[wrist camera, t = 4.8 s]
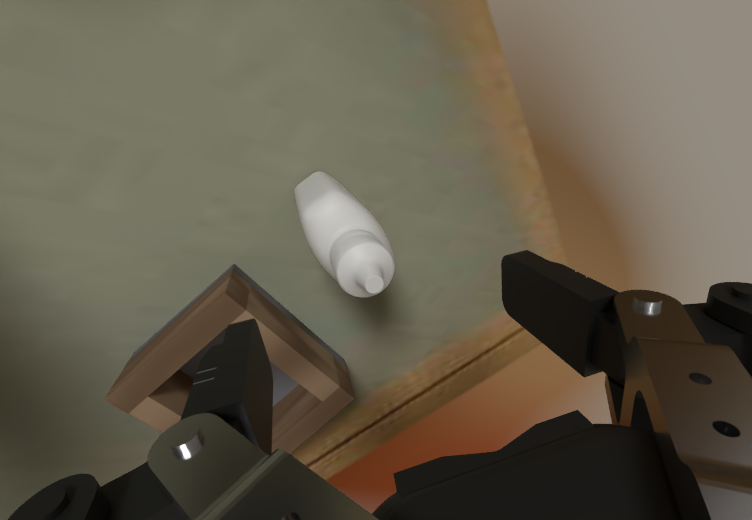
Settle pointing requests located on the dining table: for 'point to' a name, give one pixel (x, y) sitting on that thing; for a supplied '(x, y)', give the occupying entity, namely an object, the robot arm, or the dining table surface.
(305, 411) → the walnut socket
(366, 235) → the eye dropper bottle
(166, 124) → the dining table surface
